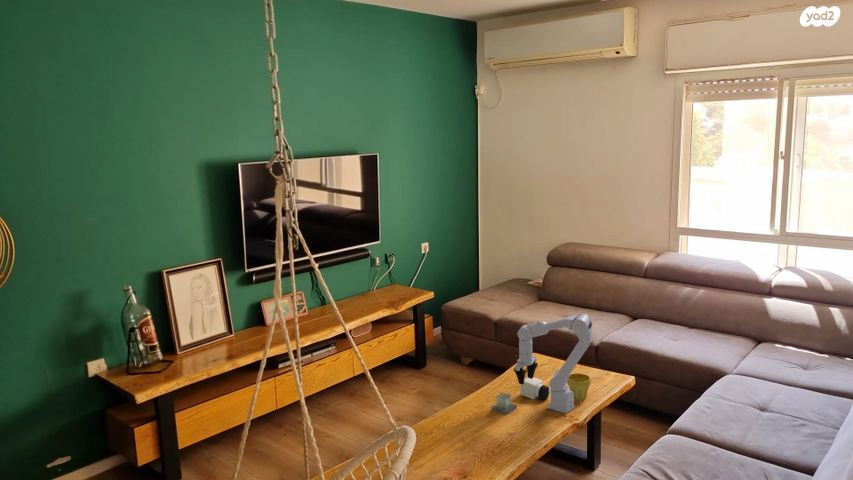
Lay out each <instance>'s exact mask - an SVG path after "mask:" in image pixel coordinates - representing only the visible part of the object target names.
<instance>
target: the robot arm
mask: <svg viewBox="0 0 853 480" xmlns="http://www.w3.org/2000/svg"><path fill="white" fill-rule="evenodd" d="M591 319H592V318H591V317H590V315H588V314H587V313H579V314H573V315H570V316H566V317H563V318H560V319H559V318H558V319H556V320H553V321H549V322H546V320H545V321H544V320H542V321H541V320H537V321H536V322H535V323H528V324H523V325H522V326H521V327H520V328H519V329H518V331H517V337H518V338H519V339H518V340H519V342H518V346H519V347H518V349H519V350H518V351H519V352H518V353H519V355H518V357H519V358H518V359H517V361H516V362H517V363H516V365H515V366H514V367H513V372H514V373H515V375H516V378H517V381H518V384H520V385H521V384H522V385H523V384H524V379H526V378H525V376H526V374H527V377H528V378H530V379H533V377H534V375H535V371H536V370H537V367H538V365H539V363H538V362H537V357H536V356H533V338H537V337H541V336H543V335H545V336H546V335H547V334H548V333H549V331H552V330H553V331H554V330H557V329H563V328H566V329H568V330H569V331H573V333H574V334H575V335H576V336H577V338H578V342H577V343H576V345H575V346H574V348H573V349H572V351H571V352H570V354H569V356H568V357H567V358H566V360H565V361H564V363H563V364H562V366H561V368H560V369H558V370H557V371H555V373H554V374H553V377H552V378H551V379H550V381H549V388H550V404H549V405H548V406H547V409H549V410H553V411H556V412H560V413H562V414H567V413H569V412H570V411H572V410H573V409H574V408H575V406H576V405H575V400H574V393H573V392H572V391H570V389H569V386H568V384H567V381H568V378H569V375H570V374H572V371H573V370H574V368H575V367H576V366H577V364H578V363H579V361H580V359H581V358H582V357H583V355H584V354H585V352H587V349H588V348H589V347H590V345H591V343H592V342H593V321H592V320H591ZM525 367H526V370H525V369H524V368H525Z"/></svg>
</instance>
